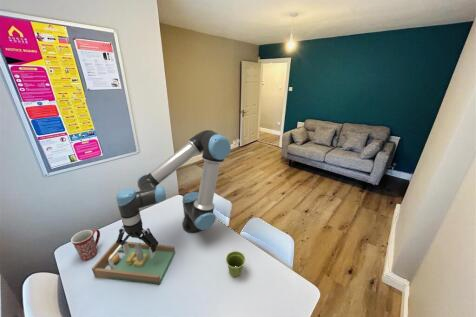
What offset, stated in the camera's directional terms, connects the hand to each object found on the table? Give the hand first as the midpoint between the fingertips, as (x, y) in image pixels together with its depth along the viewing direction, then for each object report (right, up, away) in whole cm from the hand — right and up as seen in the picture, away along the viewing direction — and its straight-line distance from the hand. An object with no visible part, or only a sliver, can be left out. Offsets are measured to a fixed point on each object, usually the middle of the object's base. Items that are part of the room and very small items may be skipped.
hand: (140, 254), depth 97 cm
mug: (-31, -4, +9) cm, 32 cm away
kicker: (-3, -4, +2) cm, 5 cm away
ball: (-15, -3, +3) cm, 16 cm away
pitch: (-3, -6, +3) cm, 8 cm away
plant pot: (+48, -9, 0) cm, 49 cm away
